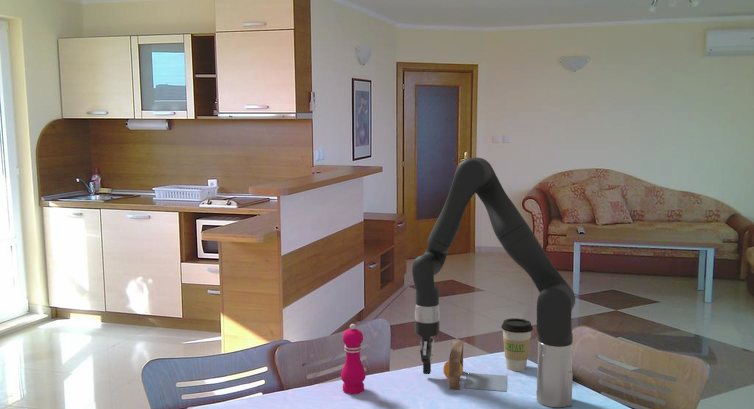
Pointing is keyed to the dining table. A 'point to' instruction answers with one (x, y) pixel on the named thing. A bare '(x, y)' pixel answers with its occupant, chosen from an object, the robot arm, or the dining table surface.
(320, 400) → the dining table surface
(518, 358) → the coffee cup
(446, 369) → the ball
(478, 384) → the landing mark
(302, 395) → the dining table surface
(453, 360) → the bridge
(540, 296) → the robot arm
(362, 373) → the pepper mill
